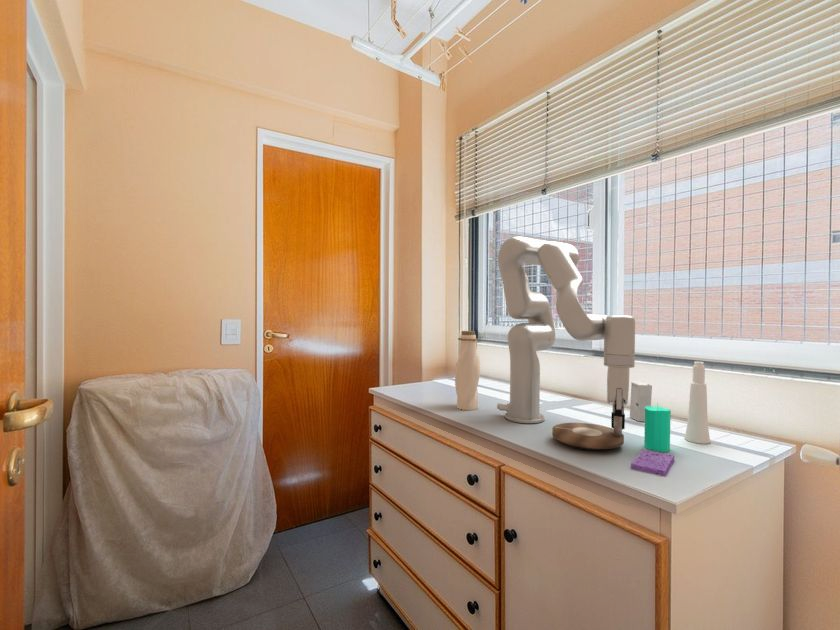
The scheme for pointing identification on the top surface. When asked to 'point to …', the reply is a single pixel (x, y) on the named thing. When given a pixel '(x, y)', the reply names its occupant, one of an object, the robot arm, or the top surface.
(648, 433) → the candle
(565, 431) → the turntable
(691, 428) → the cosmetic bottle
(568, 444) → the turntable base
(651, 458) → the sponges
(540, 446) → the top surface
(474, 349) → the water bottle
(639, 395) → the skincare box
